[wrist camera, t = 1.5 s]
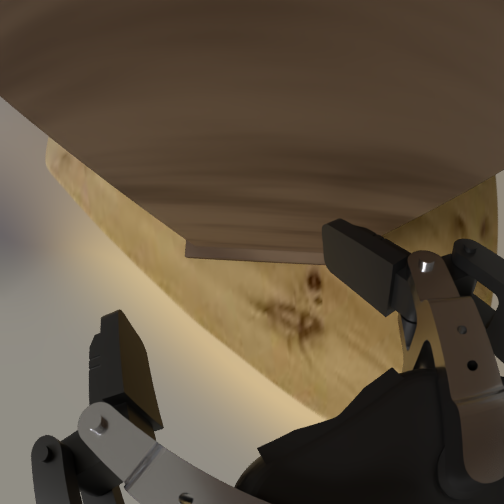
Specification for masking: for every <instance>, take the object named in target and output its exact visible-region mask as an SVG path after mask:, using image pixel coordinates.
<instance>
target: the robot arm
mask: <svg viewBox="0 0 504 504" xmlns="http://www.w3.org/2000/svg"><path fill="white" fill-rule="evenodd" d="M322 241H323V254H324V261H325V264H326V266H327V268H328V269H329V271H330V272H331V273H332V274H334V275H335V276H336V277H337V278H339V279H340V280H341V281H342V282H344V283H345V284H346V285H347V286H349V287H350V288H351V289H352V290H353V291H355V292H356V293H357V294H358V295H360V296H361V297H362V298H363V299H364V300H366V301H367V302H368V303H369V304H371V305H372V306H373V307H374V308H375V309H377V310H378V311H379V312H380V313H381V314H383V315H384V316H385V317H387V316H388V315H389V314H391V313H392V312H394V311H395V310H396V311H397V312H398V324H399V330H400V337H401V343H402V350H403V369H402V373H398V372H397V371H396V370H394V369H393V368H390V369H389V370H388V371H387V372H385V373H384V374H383V375H381V376H380V377H379V378H377V379H376V380H374V381H373V382H372V383H370V384H369V385H367V386H366V387H365V388H364V389H363V390H362V391H361V392H360V393H359V394H358V395H357V396H356V398H355V399H354V400H353V401H352V402H351V403H350V404H349V405H348V406H347V407H346V408H345V409H344V411H343V412H342V413H341V414H340V415H338V416H337V417H335V418H333V419H330V420H327V421H324V422H321V423H318V424H314V425H311V426H307V427H304V428H300V429H297V430H294V431H292V432H290V433H288V434H286V435H284V436H282V437H280V438H278V439H276V440H274V441H272V442H269V443H267V444H265V445H263V446H261V447H259V448H257V449H258V451H259V453H260V455H261V456H260V457H259V458H258V459H256V460H255V461H254V462H253V463H252V464H251V465H250V466H249V467H248V468H247V469H246V470H245V471H244V472H243V474H242V475H241V477H240V478H239V480H238V481H237V483H236V485H235V487H232V486H230V485H228V484H226V483H224V482H222V481H220V480H218V479H216V478H214V477H212V476H211V475H209V474H207V473H205V472H204V471H202V470H200V469H198V468H197V467H195V466H193V465H192V464H190V463H188V462H187V461H185V460H183V459H182V458H180V457H179V456H177V455H176V454H174V453H172V452H171V451H169V450H168V449H166V448H165V447H163V446H162V445H161V444H159V443H158V442H156V438H155V434H154V431H157V430H160V429H163V428H164V427H163V423H162V420H161V416H160V413H159V408H158V404H157V400H156V395H155V391H154V387H153V382H152V377H151V373H150V368H149V363H148V357H147V352H146V349H145V347H144V344H143V342H142V341H141V339H140V337H139V336H138V334H137V333H136V331H135V330H134V328H133V327H132V325H131V324H130V322H129V321H128V319H127V318H126V316H125V314H124V313H123V312H122V311H121V310H117V311H115V312H112V313H110V314H107V315H105V316H103V317H101V332H100V333H99V334H96V335H95V336H94V338H93V341H92V343H91V345H90V352H89V359H90V361H89V369H90V370H89V402H90V403H89V404H90V405H89V407H87V408H86V409H85V410H84V411H83V413H82V414H81V416H80V418H79V421H78V430H77V431H76V432H74V433H73V434H71V435H70V436H68V437H67V438H65V439H64V440H62V441H59V440H58V439H56V438H55V437H53V436H50V435H45V436H42V437H40V438H39V439H38V440H37V441H36V442H35V444H34V446H33V449H32V453H31V461H32V473H33V482H34V491H35V498H36V504H82V500H81V496H80V492H81V495H82V499H83V503H84V504H125V503H124V500H123V497H122V494H121V490H120V488H119V485H120V484H121V483H123V482H124V483H125V484H126V485H125V486H124V488H125V490H126V491H127V492H128V493H129V494H130V495H131V496H132V497H133V498H134V499H135V500H137V501H138V502H139V503H140V504H504V377H502V376H500V373H499V370H498V366H497V363H496V359H495V356H496V357H497V358H499V359H500V360H501V361H502V362H503V363H504V259H503V258H501V257H500V256H498V255H497V254H495V253H494V252H492V251H490V250H489V249H487V248H486V247H484V246H482V245H481V244H479V243H477V242H475V241H473V240H470V239H459V240H457V241H455V243H454V246H453V251H452V254H448V255H445V256H442V257H440V256H439V255H437V254H436V253H433V252H430V251H416V252H413V253H412V254H411V253H410V252H408V251H406V250H405V249H403V248H401V247H400V246H398V245H396V244H394V243H393V242H391V241H389V240H387V239H384V237H382V236H380V235H377V234H376V233H375V232H373V231H371V230H369V229H368V228H365V227H360V226H356V225H353V224H351V223H349V222H347V221H345V220H343V219H341V218H338V219H336V220H334V221H331V222H329V223H327V224H324V225H323V226H322ZM477 281H478V282H480V283H481V284H482V285H484V286H485V287H487V288H488V289H489V290H491V291H492V292H493V293H495V294H496V296H497V297H498V300H499V305H498V308H497V310H496V311H495V310H494V309H492V308H491V307H490V306H489V305H487V304H486V303H485V302H484V301H482V300H481V299H480V298H478V297H477V296H476V295H474V294H473V292H474V289H475V286H476V283H477ZM494 355H495V356H494Z"/></svg>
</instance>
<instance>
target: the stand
mask: <svg viewBox="0 0 504 504" xmlns="http://www.w3.org/2000/svg"><path fill="white" fill-rule="evenodd" d="M0 96H1V97H2V98H3V99H4V100H5V101H7V102H8V103H9V104H10V105H11V106H12V107H14V108H15V109H16V110H17V111H19V112H20V113H21V114H22V115H23V116H25V117H26V118H27V119H28V120H29V121H31V122H32V123H33V124H34V125H36V126H37V127H38V128H39V129H40V130H42V131H43V132H44V133H46V134H47V135H48V136H49V137H50V138H52V139H53V140H54V141H55V142H57V143H58V144H59V145H60V146H62V147H63V148H64V149H66V150H67V151H68V152H69V153H71V154H72V155H73V156H74V157H76V158H77V159H78V160H80V161H81V162H82V163H83V164H85V165H86V166H87V167H89V168H90V169H91V170H93V171H94V172H95V173H96V174H98V175H99V176H100V177H102V178H103V179H104V180H106V181H107V182H108V183H110V184H111V185H112V186H114V187H115V188H116V189H118V190H119V191H120V192H122V193H123V194H124V195H126V196H127V197H128V198H130V199H131V200H132V201H134V202H135V203H136V204H138V205H139V206H140V207H142V208H143V209H144V210H146V211H147V212H149V213H150V214H151V215H153V216H154V217H155V218H157V219H158V220H159V221H161V222H162V223H164V224H165V225H166V226H168V227H169V228H170V229H172V230H173V231H175V232H176V233H177V234H179V235H180V236H182V237H183V238H184V239H186V249H185V257H187V258H199V259H217V260H235V261H253V262H272V263H292V264H313V265H326V264H325V261H324V254H323V241H322V226H323V225H324V224H327V223H329V222H331V221H334V220H336V219H338V218H341V219H343V220H345V221H347V222H349V223H351V224H353V225H356V226H360V227H365V228H368V229H369V230H371V231H373V232H375V233H376V234H377V235H380V236H382V235H384V234H386V233H388V232H390V231H392V230H394V229H396V228H398V227H400V226H402V225H404V224H406V223H408V222H409V221H411V220H413V219H415V218H417V217H419V216H421V215H423V214H425V213H427V212H429V211H431V210H432V209H434V208H436V207H438V206H440V205H442V204H444V203H446V202H447V201H449V200H451V199H453V198H455V197H457V196H458V195H460V194H462V193H464V192H466V191H467V190H469V189H471V188H473V187H475V186H476V185H478V184H480V183H482V182H483V181H485V180H487V179H489V178H490V177H492V176H494V175H496V174H497V173H499V172H501V171H502V170H504V0H0Z"/></svg>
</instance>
